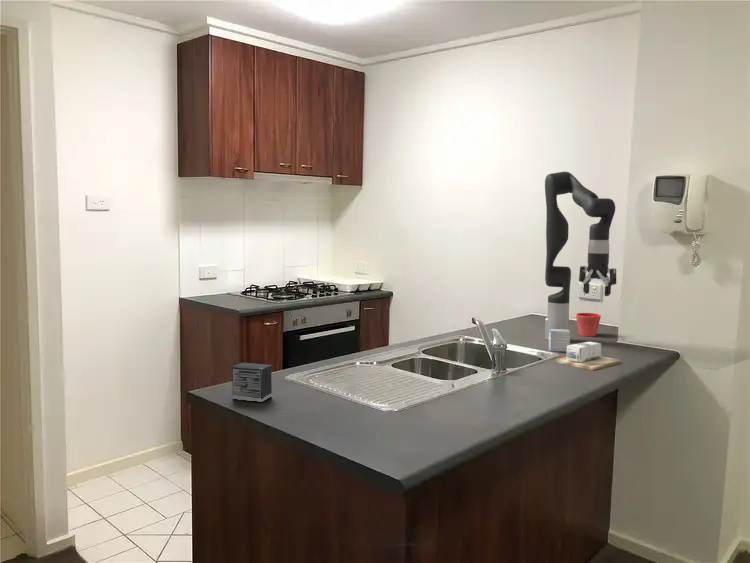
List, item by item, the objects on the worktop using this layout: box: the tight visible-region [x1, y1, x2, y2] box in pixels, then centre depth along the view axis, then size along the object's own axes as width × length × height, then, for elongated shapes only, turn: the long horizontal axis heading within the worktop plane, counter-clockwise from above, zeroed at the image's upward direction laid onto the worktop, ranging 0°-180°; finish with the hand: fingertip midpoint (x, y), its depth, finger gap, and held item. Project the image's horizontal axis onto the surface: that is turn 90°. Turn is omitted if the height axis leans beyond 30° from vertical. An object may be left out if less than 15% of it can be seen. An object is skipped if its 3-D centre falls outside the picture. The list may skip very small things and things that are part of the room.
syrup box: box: [566, 341, 602, 362], centre depth 236 cm, size 6×6×14 cm
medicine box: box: [548, 329, 571, 353], centre depth 255 cm, size 8×4×9 cm, turn 84°
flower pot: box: [575, 312, 601, 337], centre depth 288 cm, size 11×11×10 cm
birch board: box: [554, 355, 622, 371], centre depth 235 cm, size 16×19×1 cm
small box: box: [231, 362, 273, 399], centre depth 188 cm, size 11×6×10 cm, turn 71°
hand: (596, 294), depth 233 cm, fingers open, 8 cm apart
